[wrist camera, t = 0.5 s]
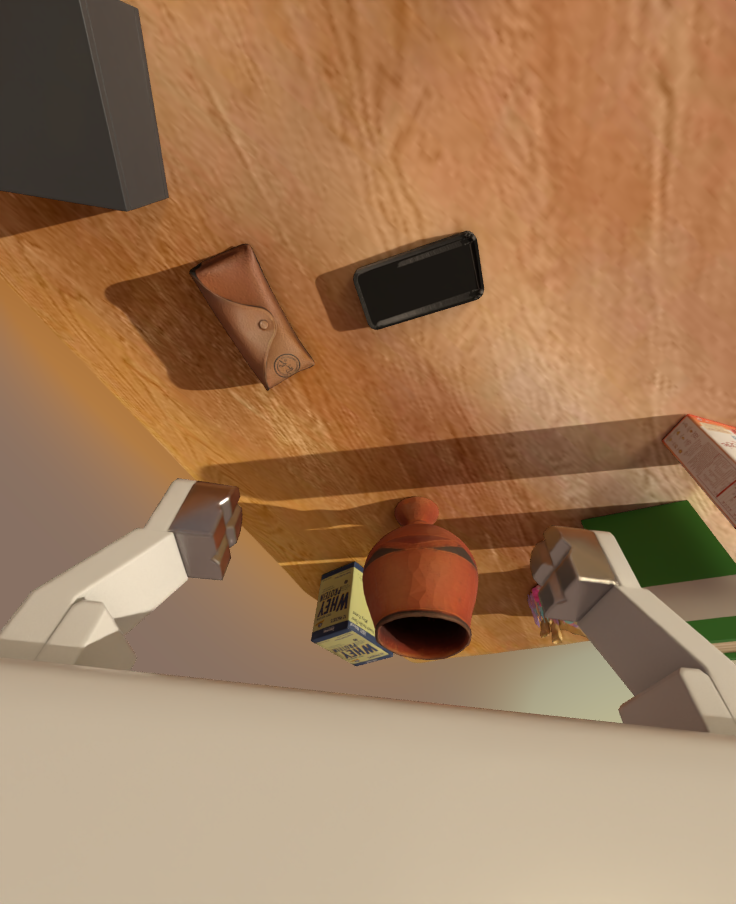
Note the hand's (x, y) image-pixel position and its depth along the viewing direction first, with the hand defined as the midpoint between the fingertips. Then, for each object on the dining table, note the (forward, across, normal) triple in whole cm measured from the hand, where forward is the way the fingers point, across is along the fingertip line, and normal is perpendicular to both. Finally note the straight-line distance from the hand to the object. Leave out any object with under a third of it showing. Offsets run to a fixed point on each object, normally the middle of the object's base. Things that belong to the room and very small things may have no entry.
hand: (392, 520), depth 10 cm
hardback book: (+45, -53, +45) cm, 83 cm away
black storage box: (+45, +32, -6) cm, 56 cm away
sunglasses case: (+45, +16, +15) cm, 50 cm away
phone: (+45, -4, +7) cm, 46 cm away
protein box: (+45, -4, +77) cm, 89 cm away
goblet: (+45, -12, +49) cm, 68 cm away
